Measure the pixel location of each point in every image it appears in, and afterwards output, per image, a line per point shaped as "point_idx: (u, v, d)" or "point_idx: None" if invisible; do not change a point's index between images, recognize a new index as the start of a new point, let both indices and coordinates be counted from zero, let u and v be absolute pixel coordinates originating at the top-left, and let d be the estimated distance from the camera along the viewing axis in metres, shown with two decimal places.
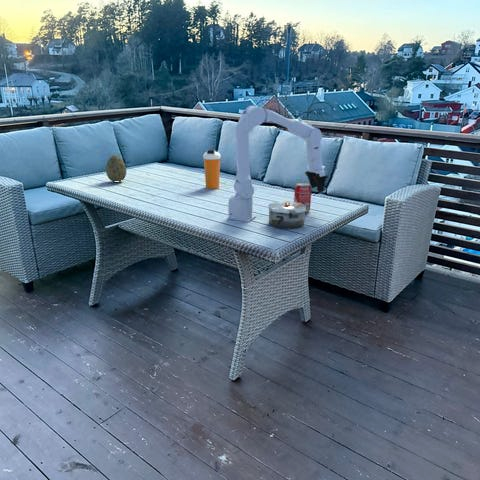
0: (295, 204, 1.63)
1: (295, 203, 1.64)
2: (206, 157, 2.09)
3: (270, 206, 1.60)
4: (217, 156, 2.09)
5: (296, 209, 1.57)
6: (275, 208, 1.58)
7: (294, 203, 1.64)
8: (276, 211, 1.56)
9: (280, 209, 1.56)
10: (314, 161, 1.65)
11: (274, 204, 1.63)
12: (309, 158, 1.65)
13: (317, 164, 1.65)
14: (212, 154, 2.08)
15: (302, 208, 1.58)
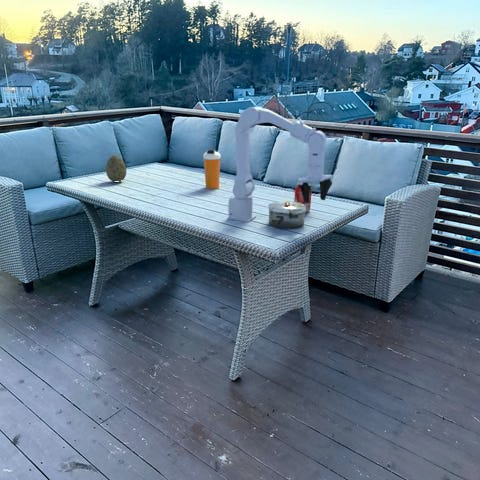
0: (295, 204, 1.63)
1: (295, 203, 1.64)
2: (206, 157, 2.09)
3: (270, 206, 1.60)
4: (217, 156, 2.09)
5: (296, 209, 1.57)
6: (275, 208, 1.58)
7: (294, 203, 1.64)
8: (276, 211, 1.56)
9: (280, 209, 1.56)
10: (308, 168, 1.51)
11: (274, 204, 1.63)
12: (308, 164, 1.51)
13: (309, 172, 1.51)
14: (212, 154, 2.08)
15: (302, 208, 1.58)
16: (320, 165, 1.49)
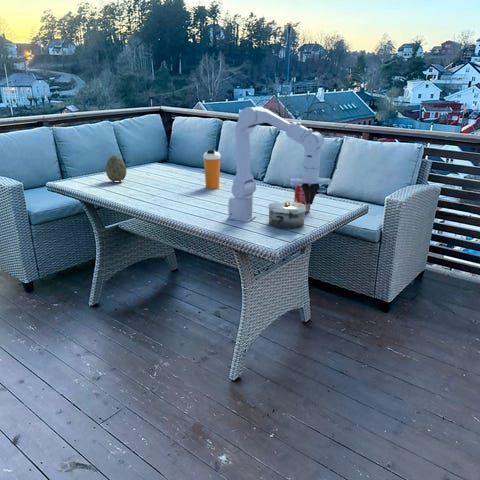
0: (295, 204, 1.63)
1: (295, 203, 1.64)
2: (206, 157, 2.09)
3: (270, 206, 1.60)
4: (217, 156, 2.09)
5: (296, 209, 1.57)
6: (275, 208, 1.58)
7: (294, 203, 1.64)
8: (276, 211, 1.56)
9: (280, 209, 1.56)
10: None
11: (274, 204, 1.63)
12: None
13: (303, 174, 1.48)
14: (212, 154, 2.08)
15: (302, 208, 1.58)
16: (314, 167, 1.45)
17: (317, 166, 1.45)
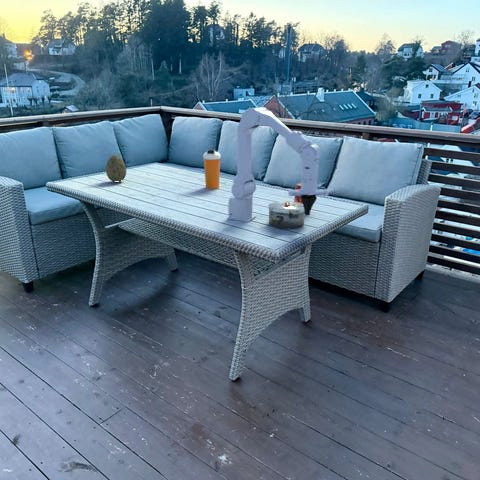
0: (295, 204, 1.63)
1: (295, 203, 1.64)
2: (206, 157, 2.09)
3: (270, 206, 1.60)
4: (217, 156, 2.09)
5: (296, 209, 1.57)
6: (275, 208, 1.58)
7: (294, 203, 1.64)
8: (276, 211, 1.56)
9: (280, 209, 1.56)
10: None
11: (274, 204, 1.63)
12: None
13: (301, 185, 1.49)
14: (212, 154, 2.08)
15: (302, 208, 1.58)
16: (312, 179, 1.46)
17: (315, 178, 1.46)
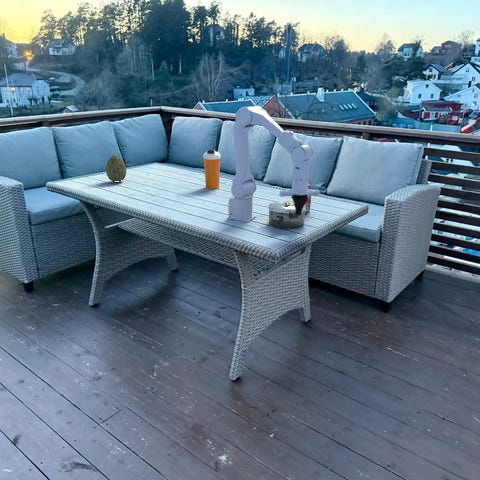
0: None
1: None
2: (206, 157, 2.09)
3: (270, 206, 1.60)
4: (217, 156, 2.09)
5: None
6: (275, 208, 1.58)
7: None
8: (276, 211, 1.56)
9: (280, 209, 1.56)
10: None
11: (274, 204, 1.63)
12: None
13: (292, 185, 1.49)
14: (212, 154, 2.08)
15: None
16: (302, 179, 1.46)
17: (305, 178, 1.46)
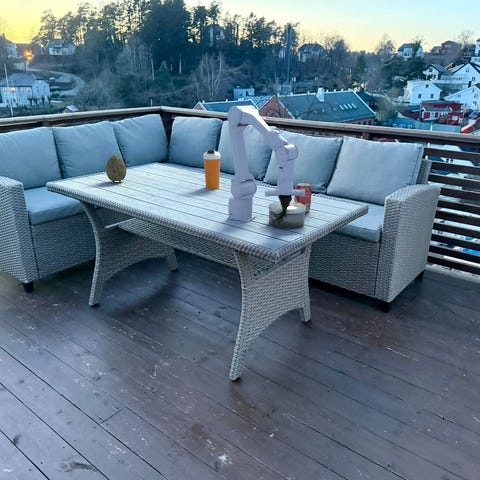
0: (298, 206, 1.61)
1: (300, 205, 1.62)
2: (206, 157, 2.09)
3: (272, 203, 1.64)
4: (217, 156, 2.09)
5: (288, 210, 1.56)
6: (272, 206, 1.61)
7: (298, 205, 1.62)
8: (269, 208, 1.59)
9: (274, 207, 1.59)
10: None
11: (279, 202, 1.65)
12: None
13: (277, 185, 1.48)
14: (212, 154, 2.08)
15: (296, 210, 1.55)
16: (286, 179, 1.45)
17: (289, 178, 1.45)
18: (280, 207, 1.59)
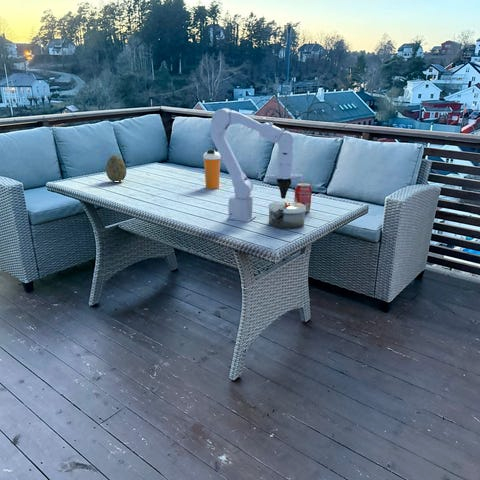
0: (298, 206, 1.61)
1: (300, 205, 1.62)
2: (206, 157, 2.09)
3: (272, 203, 1.64)
4: (217, 156, 2.09)
5: (288, 210, 1.56)
6: (272, 206, 1.61)
7: (298, 205, 1.62)
8: (269, 208, 1.59)
9: (274, 207, 1.59)
10: None
11: (279, 202, 1.65)
12: (277, 163, 1.58)
13: (277, 170, 1.59)
14: (212, 154, 2.08)
15: (296, 210, 1.55)
16: (289, 164, 1.56)
17: (291, 162, 1.57)
18: (280, 207, 1.59)
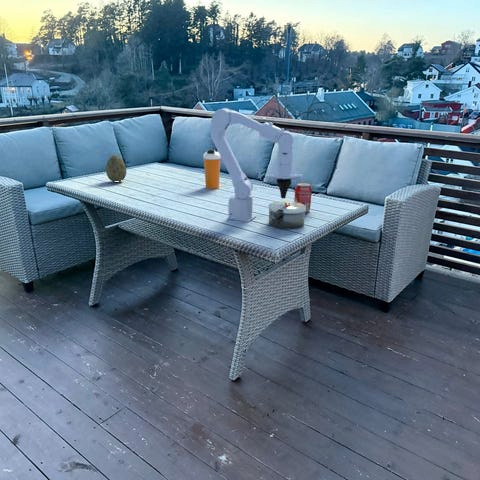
0: (298, 206, 1.61)
1: (300, 205, 1.62)
2: (206, 157, 2.09)
3: (272, 203, 1.64)
4: (217, 156, 2.09)
5: (288, 210, 1.56)
6: (272, 206, 1.61)
7: (298, 205, 1.62)
8: (269, 208, 1.59)
9: (274, 207, 1.59)
10: None
11: (279, 202, 1.65)
12: (277, 163, 1.58)
13: (277, 170, 1.59)
14: (212, 154, 2.08)
15: (296, 210, 1.55)
16: (289, 163, 1.57)
17: (291, 162, 1.57)
18: (280, 207, 1.59)
